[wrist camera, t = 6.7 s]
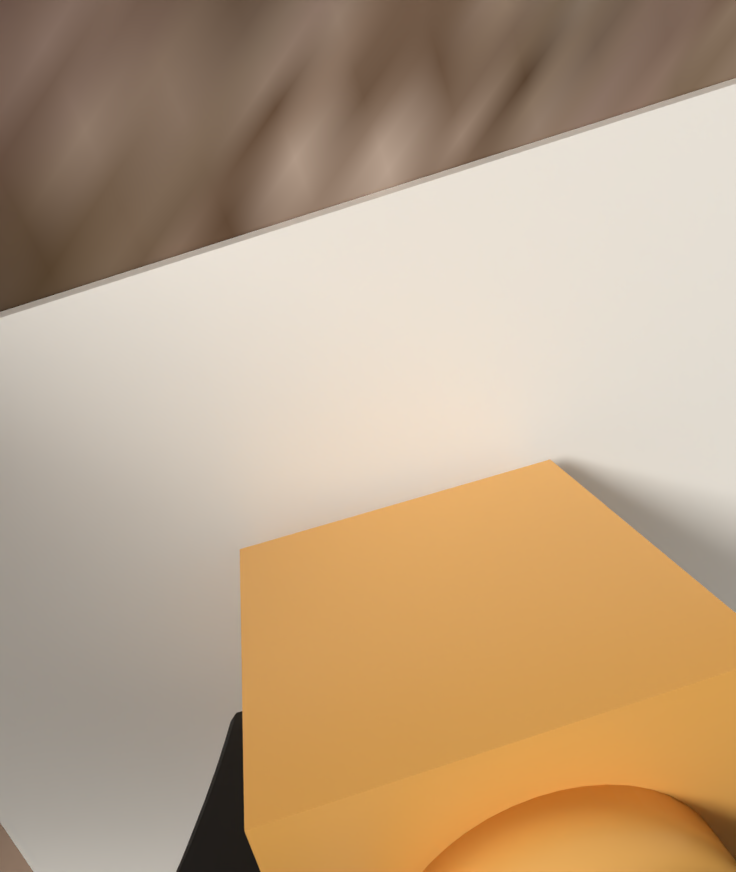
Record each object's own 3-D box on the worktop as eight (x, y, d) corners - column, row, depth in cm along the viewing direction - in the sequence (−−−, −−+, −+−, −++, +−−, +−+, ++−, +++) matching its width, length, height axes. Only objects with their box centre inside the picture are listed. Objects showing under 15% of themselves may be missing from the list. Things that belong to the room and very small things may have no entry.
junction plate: (148, 953, 16) (112, 1274, 11) (-215, 380, 11) (-568, 524, 6) (790, 703, 17) (1004, 898, 12) (740, 76, 12) (1074, -3, 7)
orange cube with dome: (320, 791, 12) (388, 1259, 7) (239, 548, 10) (245, 923, 5) (584, 704, 13) (844, 1079, 7) (550, 459, 11) (859, 715, 6)
